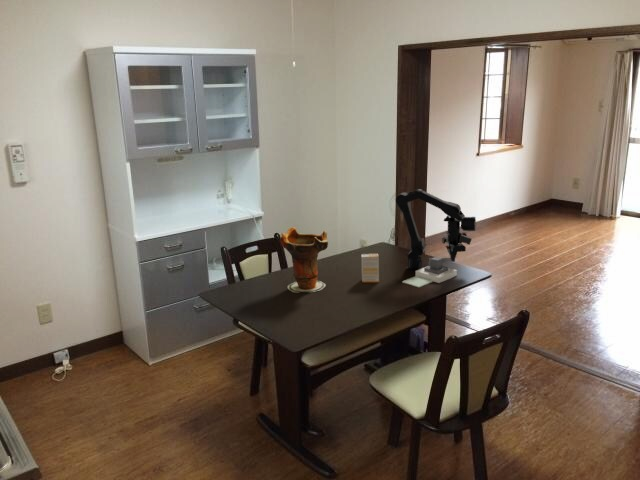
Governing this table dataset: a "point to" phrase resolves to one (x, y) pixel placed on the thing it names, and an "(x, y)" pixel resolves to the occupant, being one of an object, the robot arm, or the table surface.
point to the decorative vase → (304, 258)
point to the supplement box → (370, 267)
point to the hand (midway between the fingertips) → (453, 261)
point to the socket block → (436, 275)
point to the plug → (436, 266)
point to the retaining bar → (442, 260)
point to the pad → (417, 281)
